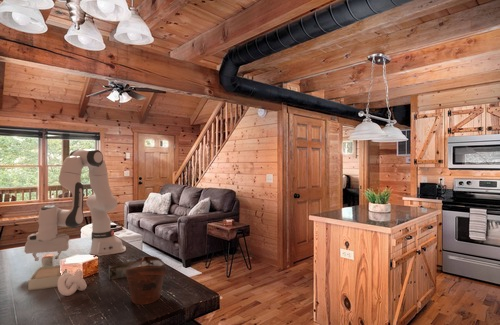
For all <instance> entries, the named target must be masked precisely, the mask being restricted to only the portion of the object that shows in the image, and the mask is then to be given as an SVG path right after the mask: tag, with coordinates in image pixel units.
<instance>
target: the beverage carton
mask: <svg viewBox="0 0 500 325" xmlns="http://www.w3.org/2000/svg"><path fill="white" fill-rule="evenodd" d="M134 261H135V260H132V261H125V262H120V263H119V262H118V263H112V264H111V263H110V264H109V265H108V276H109V277H108V280H115V279H122V278H126V277H125V274H126V269H127V267H128V266H129V265H130V264H131V263H133V262H134Z"/></svg>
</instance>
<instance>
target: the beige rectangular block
mask: <svg viewBox="0 0 500 325" xmlns="http://www.w3.org/2000/svg"><path fill="white" fill-rule="evenodd" d="M57 276H60V269H59V268H51V269H42V270H39V271H38V272H37V274H36V279H40V278H49V277H57Z"/></svg>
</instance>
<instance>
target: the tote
mask: <svg viewBox="0 0 500 325" xmlns="http://www.w3.org/2000/svg"><path fill="white" fill-rule="evenodd" d="M60 265H61V264H59V265H55V266H47V267H42V266H39V267H38V268H37V269H36V271H35V272H34V273H33V274H32V275H31V277H30V278H28V283H27V285H28V286H27V287H28V291H36V290H45V289H52V288H58V285H57V284H58V279H59V278H60V276H62V275H63V274H65V273H67V269H65V271H64V272H63V274H62V275H61V273H60V276H57V277H49V278H40V279H36V274H37V272H38V271H39V270H42V269H51V268H59V269H60Z"/></svg>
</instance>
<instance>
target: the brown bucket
mask: <svg viewBox="0 0 500 325" xmlns="http://www.w3.org/2000/svg"><path fill="white" fill-rule="evenodd" d="M133 261H134V262H133V263H131V264H130V265H129V266H128V267H127V269H126V274H125V277H124V278H126V280H127V284H126V285H125V287H127V289H128V291H129V296H130V299H131V303H133V304H135V305H142V306H143V305H149V304H152V303H154V302H157V301H158V300H159V299H160V298H161V296H162V289H163V284H164V279H165V275H167V274H168V272H167V266H166V264H165V263H164V261H163V260H162V259H161V258H159V257H158V256H153V255H148V256H147V255H146V256H142V257H140V258H138V259H136V260H133Z"/></svg>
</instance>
